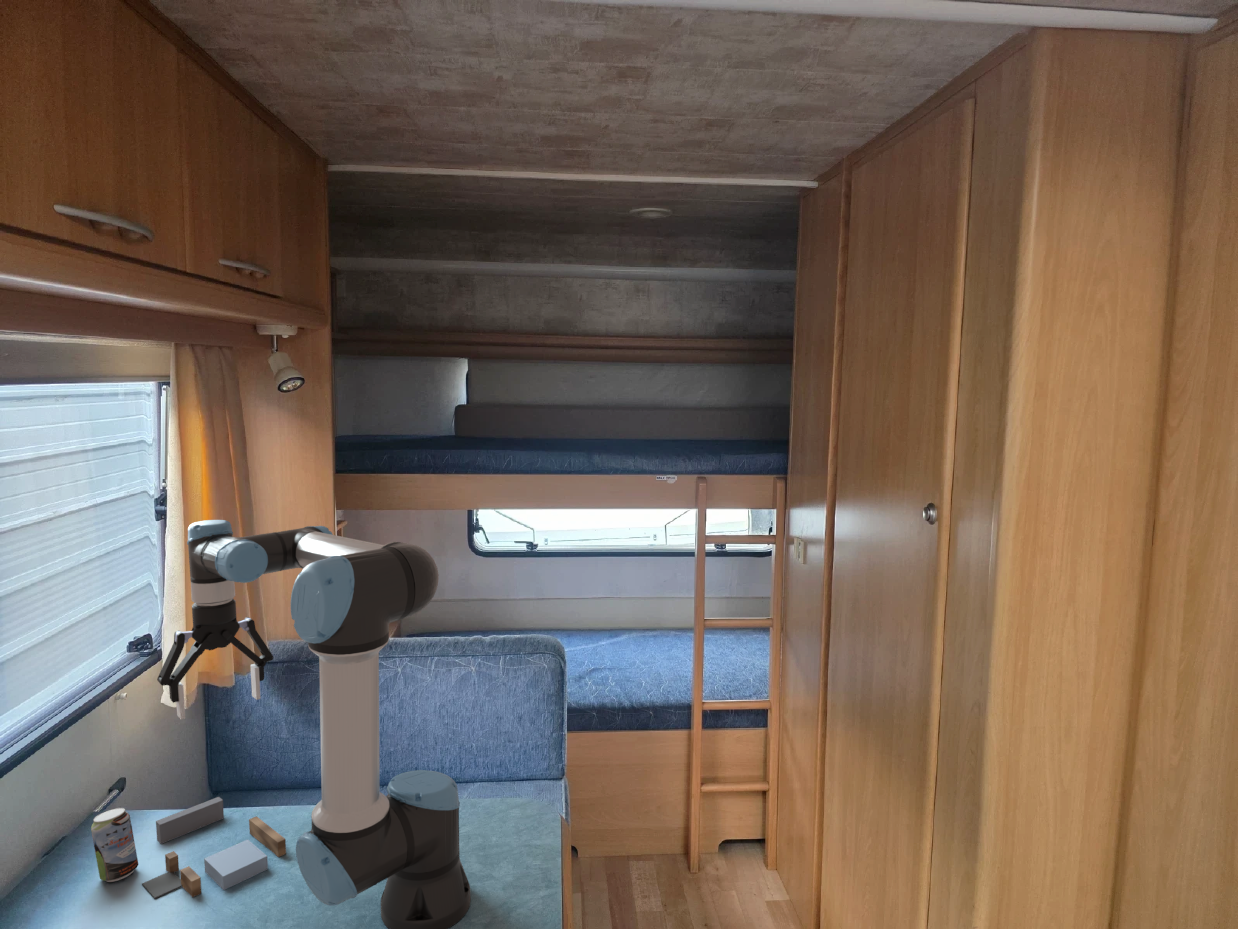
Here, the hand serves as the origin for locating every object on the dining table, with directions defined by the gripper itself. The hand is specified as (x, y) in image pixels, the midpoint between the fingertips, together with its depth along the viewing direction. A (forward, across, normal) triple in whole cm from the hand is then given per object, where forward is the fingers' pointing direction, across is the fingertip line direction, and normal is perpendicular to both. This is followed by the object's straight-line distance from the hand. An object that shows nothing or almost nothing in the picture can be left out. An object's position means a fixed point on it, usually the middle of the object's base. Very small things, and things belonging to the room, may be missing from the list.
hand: (219, 707), depth 154 cm
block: (+28, +2, +12) cm, 30 cm away
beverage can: (+27, +19, -1) cm, 33 cm away
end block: (+27, +4, -8) cm, 29 cm away
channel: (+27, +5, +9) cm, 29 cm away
